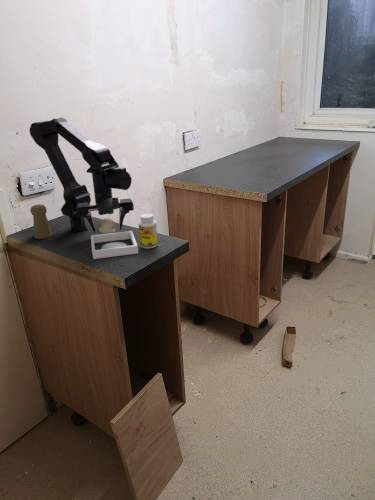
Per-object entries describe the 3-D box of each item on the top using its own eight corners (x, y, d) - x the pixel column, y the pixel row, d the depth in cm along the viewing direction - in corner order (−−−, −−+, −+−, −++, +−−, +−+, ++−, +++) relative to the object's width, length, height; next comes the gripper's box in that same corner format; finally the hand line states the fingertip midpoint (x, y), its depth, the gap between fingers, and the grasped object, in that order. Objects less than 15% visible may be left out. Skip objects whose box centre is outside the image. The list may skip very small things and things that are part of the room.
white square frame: (91, 242, 132) (90, 235, 131) (132, 237, 135) (131, 230, 134) (93, 259, 120) (92, 251, 119) (138, 253, 122) (137, 245, 121)
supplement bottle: (136, 247, 127) (134, 217, 123) (146, 241, 131) (144, 211, 127) (151, 250, 124) (149, 219, 120) (161, 244, 129) (159, 214, 125)
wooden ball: (99, 233, 140) (96, 216, 137) (116, 231, 141) (114, 214, 138) (99, 239, 134) (97, 222, 132) (117, 237, 136) (115, 220, 133)
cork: (46, 231, 143) (40, 201, 138) (55, 234, 139) (50, 204, 135) (30, 236, 139) (24, 206, 134) (40, 240, 135) (34, 209, 131)
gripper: (73, 195, 121) (80, 242, 128) (133, 190, 125) (137, 235, 132) (73, 186, 131) (79, 231, 138) (129, 181, 135) (133, 224, 142)
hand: (107, 230), depth 137 cm, fingers open, 8 cm apart
